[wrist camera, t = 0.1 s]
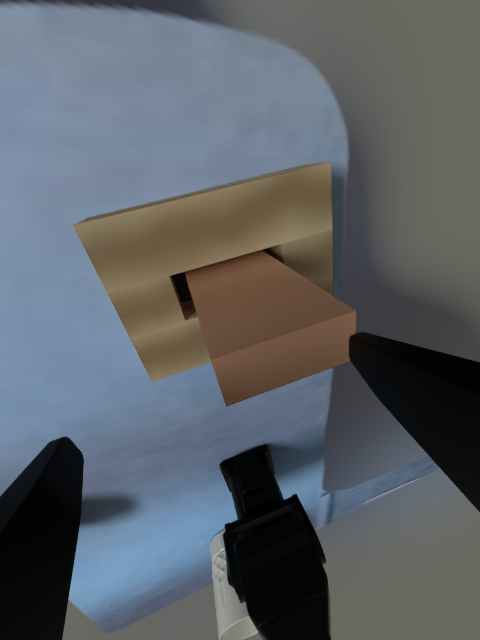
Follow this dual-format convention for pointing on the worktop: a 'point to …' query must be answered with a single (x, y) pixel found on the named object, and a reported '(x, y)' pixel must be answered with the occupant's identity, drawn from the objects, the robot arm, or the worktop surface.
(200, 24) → the worktop surface
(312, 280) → the pine slot box
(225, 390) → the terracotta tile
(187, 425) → the worktop surface
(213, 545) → the white cup
